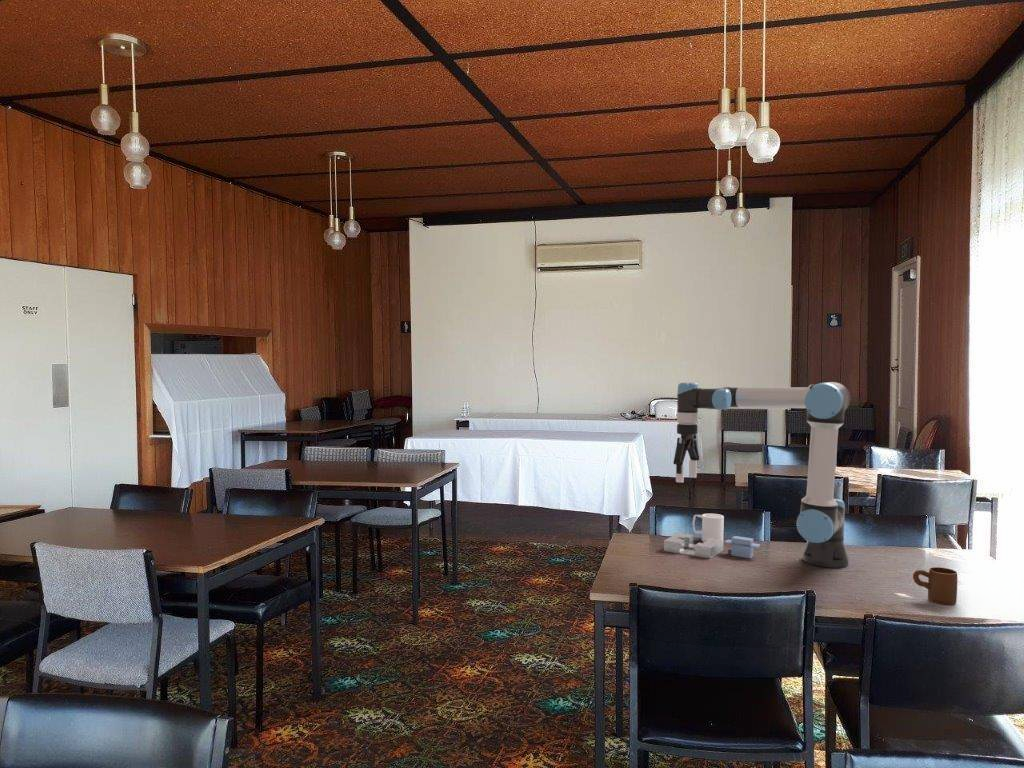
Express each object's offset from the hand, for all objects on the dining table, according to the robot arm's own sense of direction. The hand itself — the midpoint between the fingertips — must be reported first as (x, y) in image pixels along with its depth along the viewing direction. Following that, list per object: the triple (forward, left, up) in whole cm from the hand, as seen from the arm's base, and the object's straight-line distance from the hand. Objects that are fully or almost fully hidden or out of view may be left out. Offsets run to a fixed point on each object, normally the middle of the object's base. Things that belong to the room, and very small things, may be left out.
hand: (686, 479), depth 282 cm
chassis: (-3, 0, -27) cm, 27 cm away
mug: (-83, +12, -27) cm, 88 cm away
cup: (-2, -18, -27) cm, 32 cm away
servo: (-20, -4, -27) cm, 34 cm away
